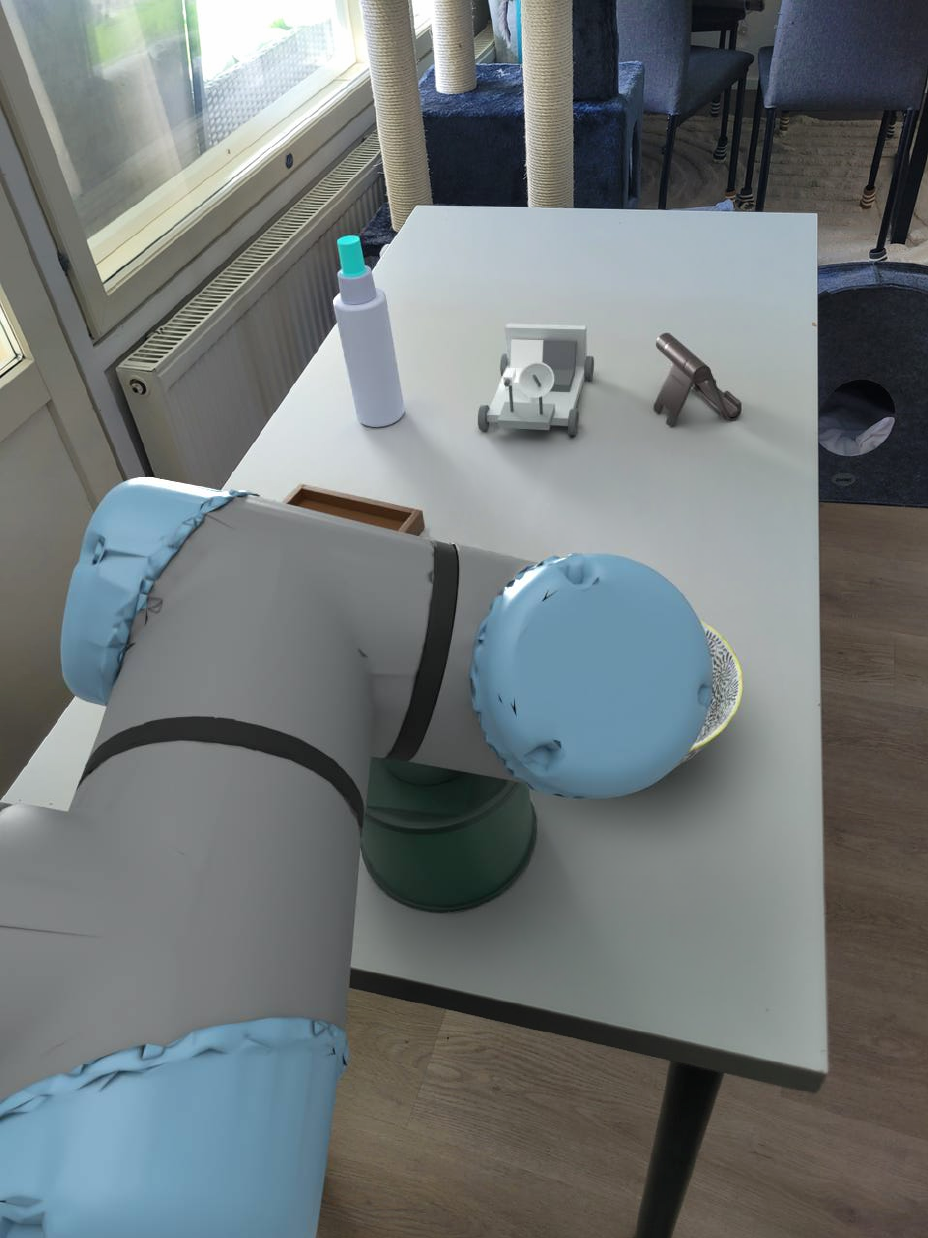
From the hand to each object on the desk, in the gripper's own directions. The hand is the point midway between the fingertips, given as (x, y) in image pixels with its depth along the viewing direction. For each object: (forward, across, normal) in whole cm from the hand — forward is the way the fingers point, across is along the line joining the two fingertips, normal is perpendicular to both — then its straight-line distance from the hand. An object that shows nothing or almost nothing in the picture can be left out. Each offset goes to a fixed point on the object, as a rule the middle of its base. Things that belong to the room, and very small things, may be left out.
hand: (412, 685), depth 62 cm
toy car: (+45, +34, +24) cm, 61 cm away
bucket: (+9, 0, -12) cm, 15 cm away
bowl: (+10, +17, -11) cm, 23 cm away
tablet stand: (+37, +49, +16) cm, 63 cm away
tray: (+35, +2, +14) cm, 38 cm away
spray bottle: (+51, +16, +30) cm, 62 cm away
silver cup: (+1, 0, -4) cm, 4 cm away
